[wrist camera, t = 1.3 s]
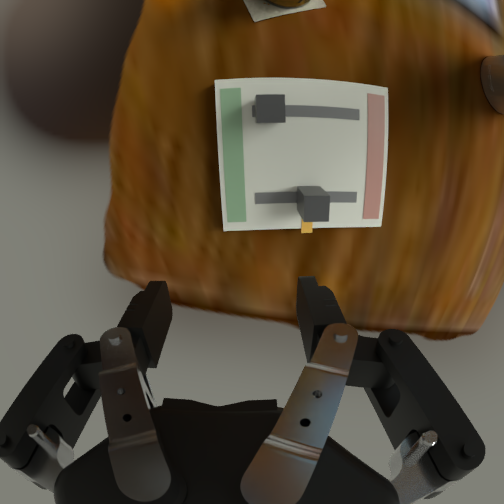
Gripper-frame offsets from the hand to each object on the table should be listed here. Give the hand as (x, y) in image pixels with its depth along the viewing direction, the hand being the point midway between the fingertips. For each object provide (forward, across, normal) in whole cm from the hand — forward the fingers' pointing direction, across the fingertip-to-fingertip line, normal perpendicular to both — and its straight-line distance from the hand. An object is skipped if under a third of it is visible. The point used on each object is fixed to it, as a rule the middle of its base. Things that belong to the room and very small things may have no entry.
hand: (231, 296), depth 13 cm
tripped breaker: (+17, -7, 0) cm, 19 cm away
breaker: (+17, -3, -9) cm, 20 cm away
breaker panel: (+20, -7, -4) cm, 21 cm away
